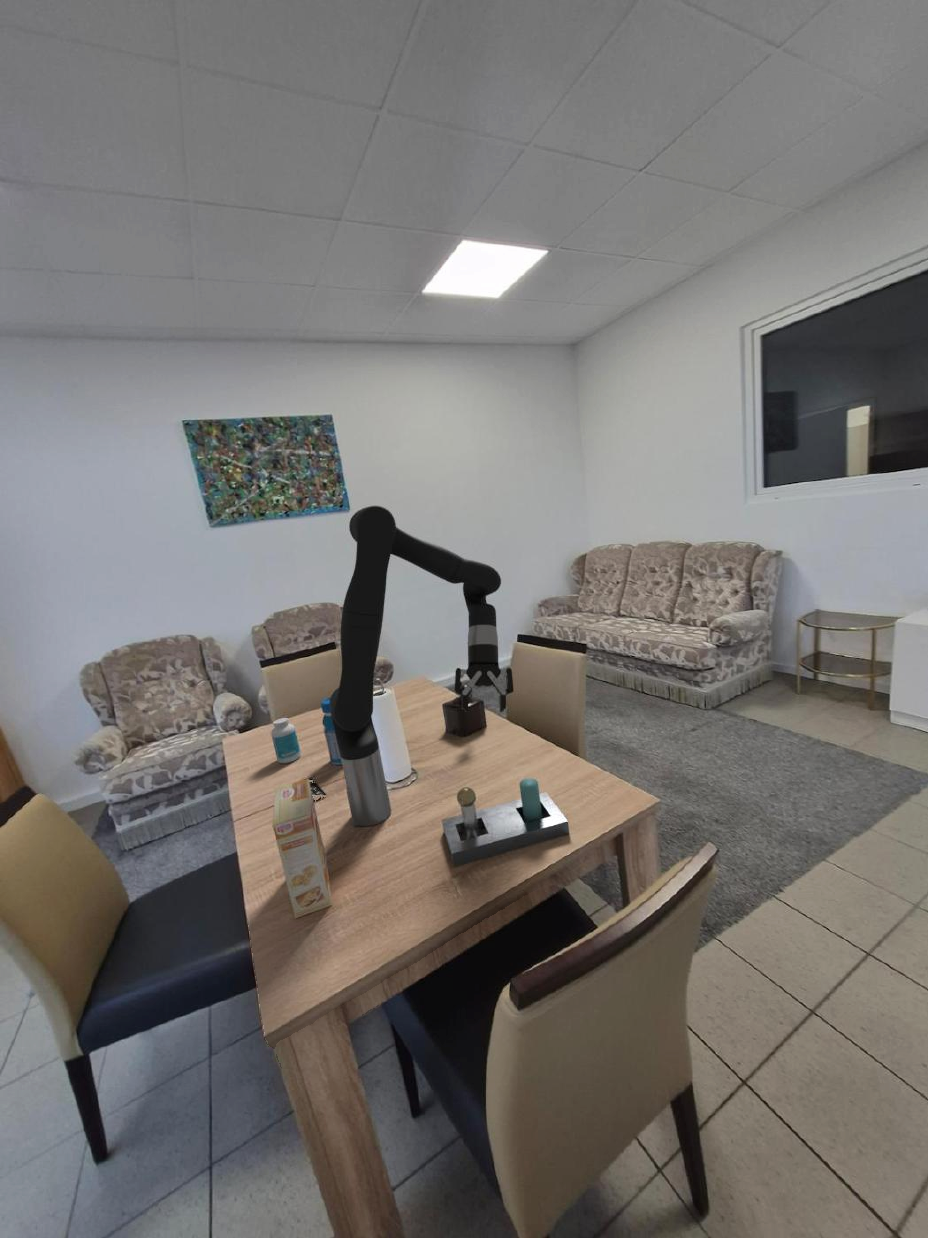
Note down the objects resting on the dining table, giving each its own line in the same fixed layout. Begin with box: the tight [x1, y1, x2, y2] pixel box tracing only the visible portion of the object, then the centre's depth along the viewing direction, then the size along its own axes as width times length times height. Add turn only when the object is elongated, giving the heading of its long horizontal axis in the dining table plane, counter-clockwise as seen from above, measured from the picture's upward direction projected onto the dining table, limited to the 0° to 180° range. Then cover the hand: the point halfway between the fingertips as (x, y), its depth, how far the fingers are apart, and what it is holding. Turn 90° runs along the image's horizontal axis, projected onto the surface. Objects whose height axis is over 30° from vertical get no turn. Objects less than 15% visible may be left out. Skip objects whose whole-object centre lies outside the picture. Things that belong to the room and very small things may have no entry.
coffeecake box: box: [271, 778, 333, 920], centre depth 94 cm, size 15×7×20 cm, turn 20°
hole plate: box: [441, 786, 570, 868], centre depth 102 cm, size 25×12×12 cm, turn 103°
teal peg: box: [519, 777, 543, 823], centre depth 104 cm, size 4×4×10 cm
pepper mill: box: [441, 680, 488, 737], centre depth 157 cm, size 16×11×18 cm
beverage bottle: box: [320, 696, 342, 766], centre depth 149 cm, size 8×8×20 cm
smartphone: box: [307, 777, 327, 802], centre depth 134 cm, size 7×1×15 cm
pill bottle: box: [270, 717, 302, 764], centre depth 156 cm, size 8×7×14 cm
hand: (484, 711), depth 115 cm, fingers open, 8 cm apart
